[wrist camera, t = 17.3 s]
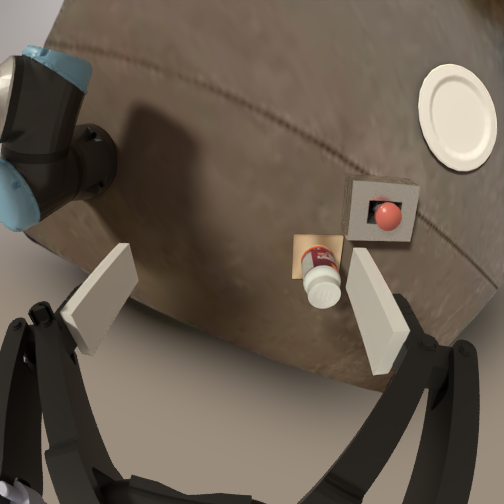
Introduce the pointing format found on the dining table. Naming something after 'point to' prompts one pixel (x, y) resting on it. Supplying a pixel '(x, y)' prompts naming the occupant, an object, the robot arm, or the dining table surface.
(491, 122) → the plate
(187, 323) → the dining table surface
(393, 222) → the lever
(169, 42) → the dining table surface
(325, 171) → the dining table surface
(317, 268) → the pill bottle
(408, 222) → the grey boxy piece
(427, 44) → the dining table surface
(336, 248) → the cork pad
